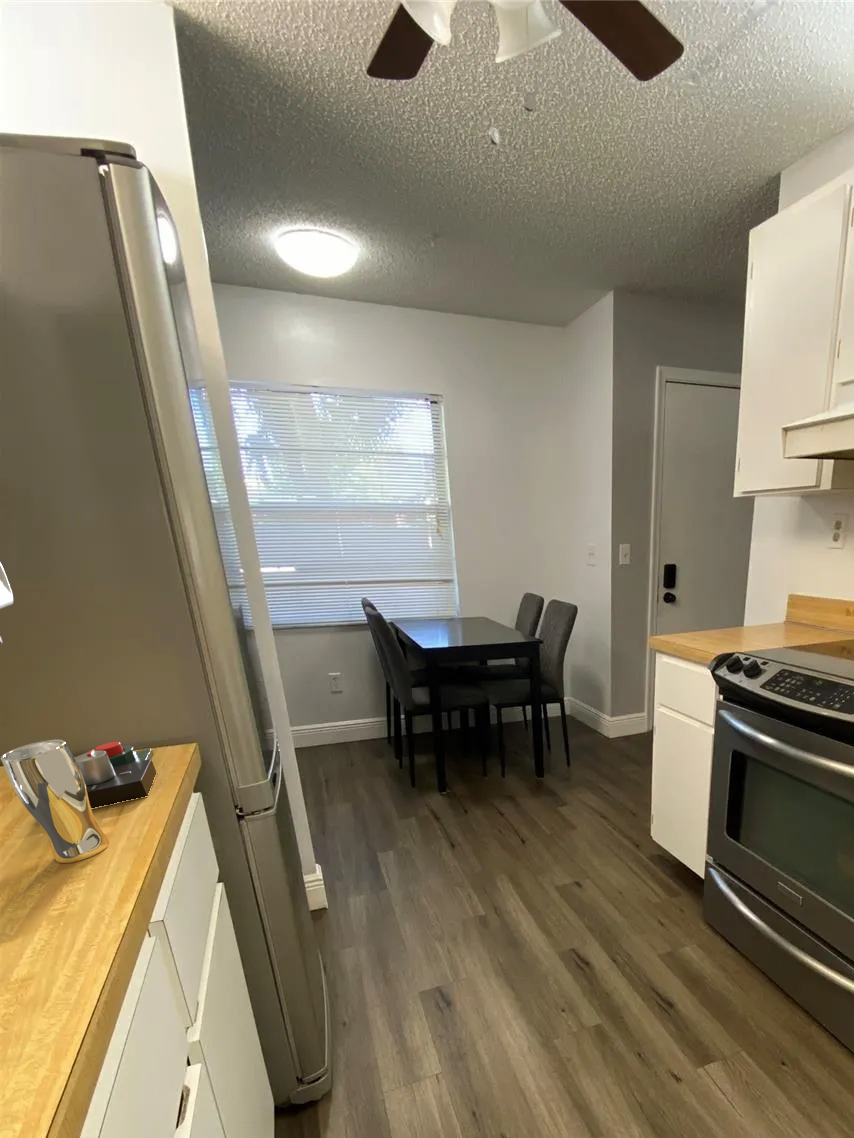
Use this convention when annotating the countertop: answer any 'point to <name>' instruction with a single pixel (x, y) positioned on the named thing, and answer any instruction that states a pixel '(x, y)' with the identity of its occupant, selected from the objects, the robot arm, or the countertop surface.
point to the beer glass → (56, 798)
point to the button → (110, 748)
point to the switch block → (130, 756)
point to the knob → (95, 767)
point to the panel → (123, 784)
